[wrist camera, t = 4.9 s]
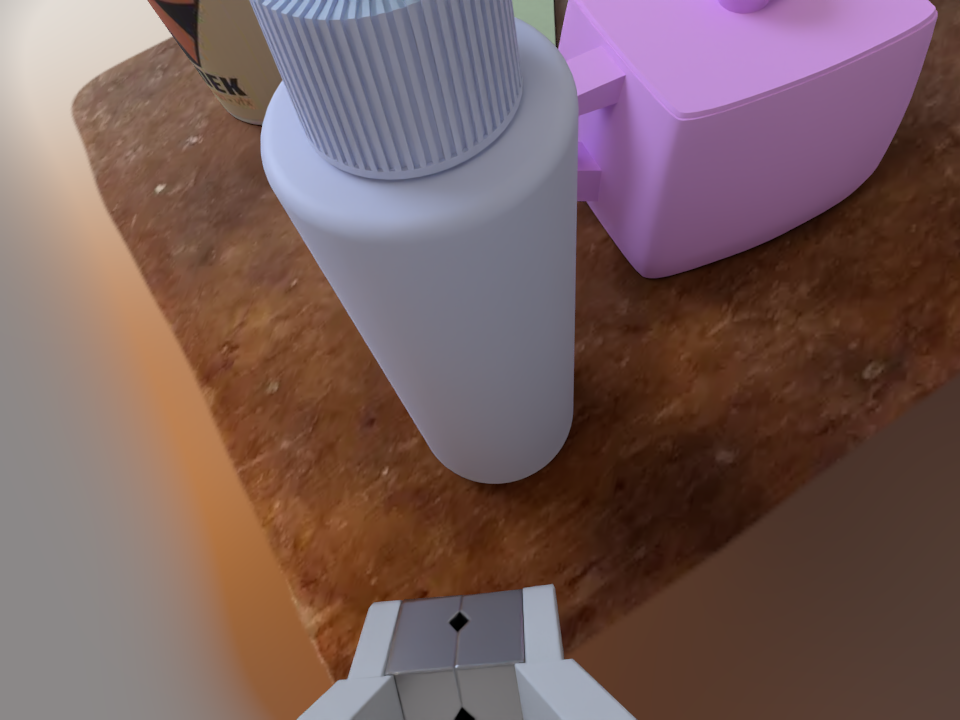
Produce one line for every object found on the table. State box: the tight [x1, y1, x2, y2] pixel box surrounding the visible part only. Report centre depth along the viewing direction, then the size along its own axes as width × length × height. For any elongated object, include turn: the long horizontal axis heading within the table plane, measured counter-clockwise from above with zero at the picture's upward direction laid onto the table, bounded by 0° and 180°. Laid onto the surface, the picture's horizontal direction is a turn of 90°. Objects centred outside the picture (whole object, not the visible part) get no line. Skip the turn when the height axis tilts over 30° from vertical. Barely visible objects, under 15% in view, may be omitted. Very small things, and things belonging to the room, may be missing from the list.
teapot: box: [558, 0, 938, 278], centre depth 25 cm, size 18×10×10 cm, turn 113°
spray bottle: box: [249, 0, 579, 484], centre depth 15 cm, size 6×6×22 cm
